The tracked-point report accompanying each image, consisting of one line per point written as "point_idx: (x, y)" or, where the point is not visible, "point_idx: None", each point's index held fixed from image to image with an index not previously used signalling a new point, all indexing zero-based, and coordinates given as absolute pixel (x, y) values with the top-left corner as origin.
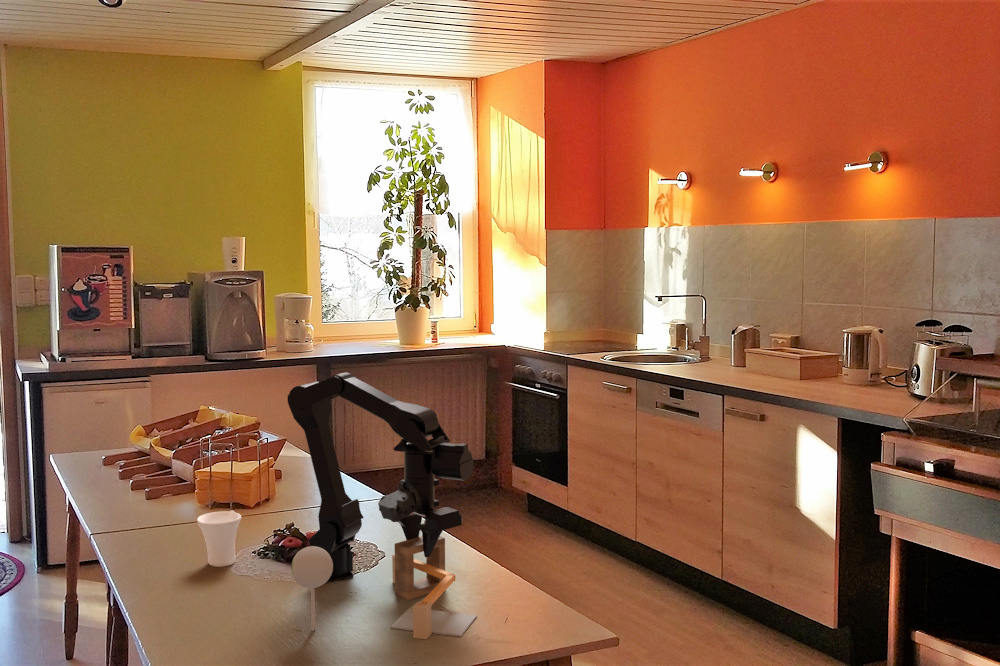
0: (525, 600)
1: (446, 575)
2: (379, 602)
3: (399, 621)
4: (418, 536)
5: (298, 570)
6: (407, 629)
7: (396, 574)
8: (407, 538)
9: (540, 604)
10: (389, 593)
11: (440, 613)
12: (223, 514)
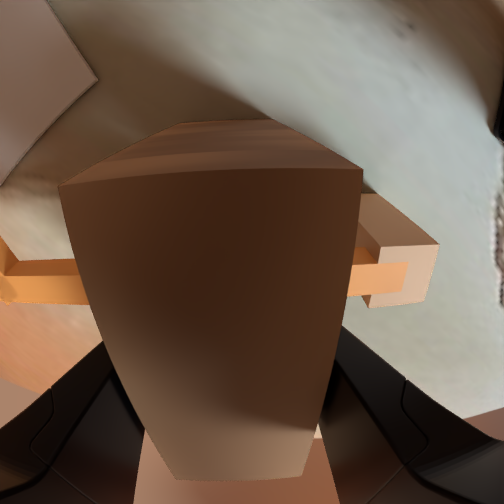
0: (27, 365)
1: (7, 274)
2: (242, 19)
3: (32, 4)
4: (321, 431)
5: None
6: None
7: (271, 126)
8: (359, 367)
9: (5, 365)
10: (298, 108)
11: (3, 151)
12: None
